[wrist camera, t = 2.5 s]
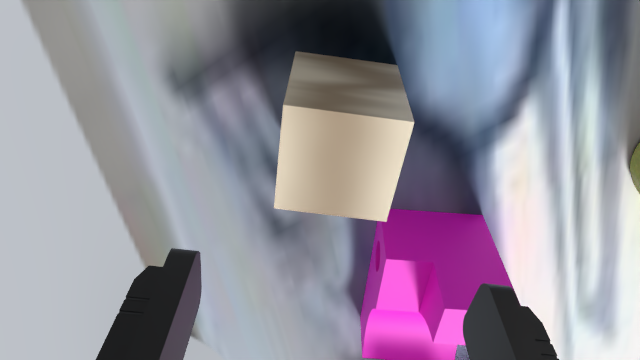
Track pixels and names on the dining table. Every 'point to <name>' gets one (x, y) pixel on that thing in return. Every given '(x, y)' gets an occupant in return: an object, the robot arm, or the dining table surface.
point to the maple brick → (342, 137)
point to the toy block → (425, 283)
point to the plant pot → (636, 167)
